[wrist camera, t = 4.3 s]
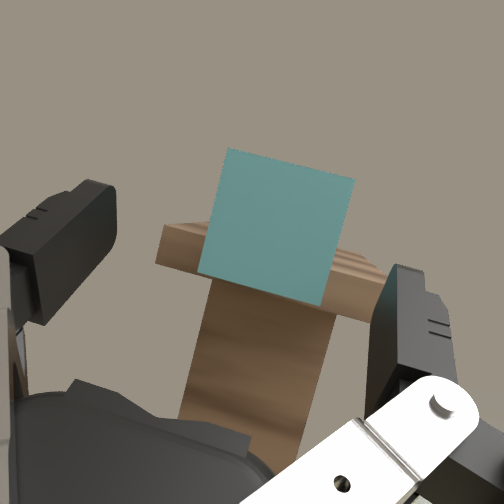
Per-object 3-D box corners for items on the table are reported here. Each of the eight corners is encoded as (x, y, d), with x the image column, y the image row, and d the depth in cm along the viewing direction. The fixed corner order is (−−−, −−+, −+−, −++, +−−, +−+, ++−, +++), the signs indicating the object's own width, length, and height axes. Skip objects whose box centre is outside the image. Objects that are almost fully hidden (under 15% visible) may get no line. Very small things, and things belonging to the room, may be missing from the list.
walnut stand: (272, 860, 25) (445, 300, 22) (5, 751, 27) (126, 214, 23) (289, 576, 45) (381, 259, 42) (135, 524, 47) (211, 214, 43)
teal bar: (320, 306, 13) (355, 179, 12) (197, 272, 13) (227, 147, 13) (314, 244, 38) (325, 203, 38) (273, 233, 39) (284, 192, 38)
